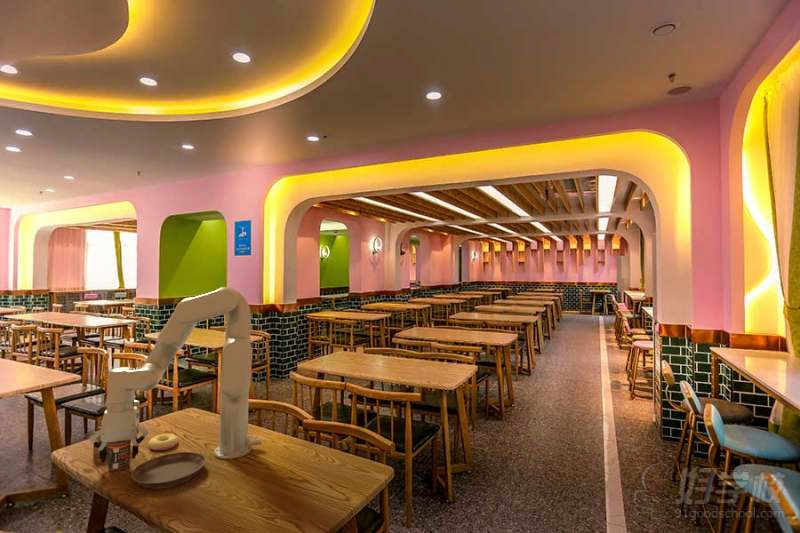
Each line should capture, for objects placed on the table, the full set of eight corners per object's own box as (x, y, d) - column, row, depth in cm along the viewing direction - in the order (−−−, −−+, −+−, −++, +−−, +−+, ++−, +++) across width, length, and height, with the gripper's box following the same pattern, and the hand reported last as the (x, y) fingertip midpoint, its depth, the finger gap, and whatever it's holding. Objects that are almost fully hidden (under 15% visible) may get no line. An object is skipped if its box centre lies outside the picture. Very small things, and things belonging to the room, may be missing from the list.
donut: (153, 459, 147) (181, 448, 154) (152, 448, 146) (180, 437, 153) (146, 446, 154) (173, 436, 161) (145, 435, 153) (172, 425, 160)
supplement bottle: (118, 473, 133) (119, 438, 133) (103, 471, 134) (104, 436, 134) (134, 464, 139) (135, 430, 139) (119, 462, 140) (120, 429, 140)
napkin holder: (130, 447, 151) (130, 423, 152) (127, 452, 147) (127, 428, 147) (97, 451, 148) (98, 427, 148) (93, 457, 143) (93, 432, 143)
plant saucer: (116, 483, 127) (116, 473, 127) (176, 456, 146) (176, 446, 146) (162, 500, 119) (162, 488, 119) (219, 468, 138) (219, 458, 138)
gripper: (152, 399, 143) (151, 450, 143) (92, 404, 136) (90, 458, 136) (149, 406, 136) (147, 459, 136) (85, 412, 129) (83, 468, 129)
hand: (119, 458), depth 136 cm, fingers open, 7 cm apart
